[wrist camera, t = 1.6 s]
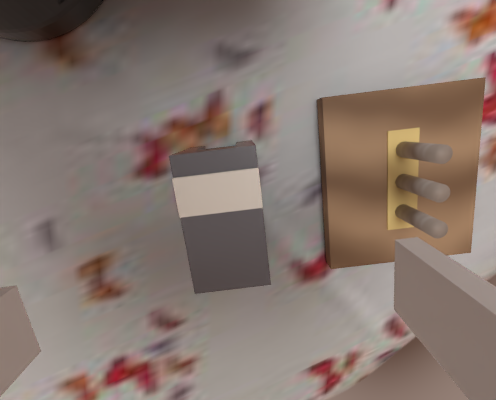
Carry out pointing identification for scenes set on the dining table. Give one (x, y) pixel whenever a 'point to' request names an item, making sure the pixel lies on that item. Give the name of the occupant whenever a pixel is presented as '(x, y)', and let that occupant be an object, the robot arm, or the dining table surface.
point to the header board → (399, 169)
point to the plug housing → (222, 216)
